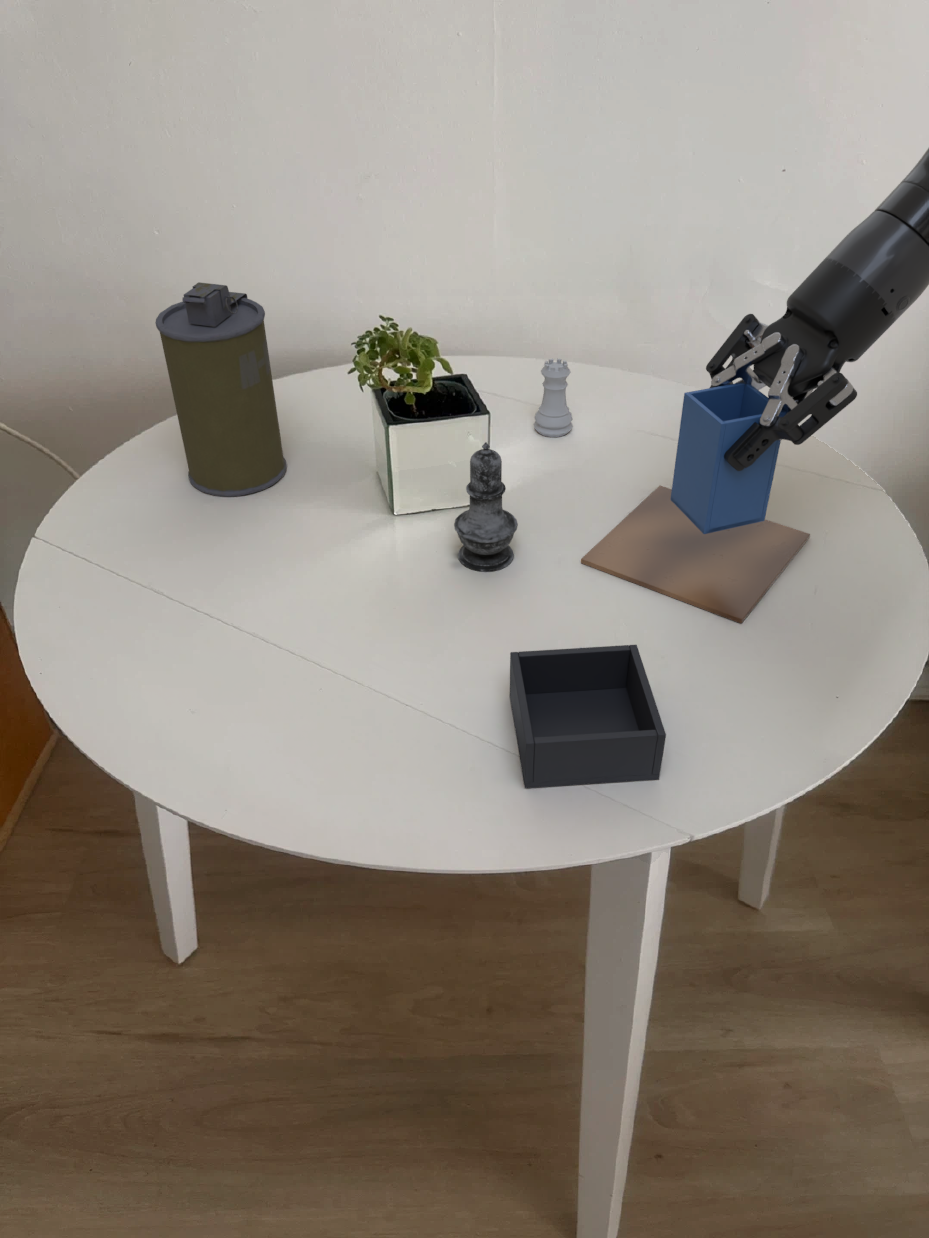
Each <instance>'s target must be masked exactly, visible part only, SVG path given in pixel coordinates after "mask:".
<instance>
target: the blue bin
mask: <svg viewBox="0 0 929 1238" xmlns="http://www.w3.org/2000/svg"><path fill="white" fill-rule="evenodd" d="M768 401H769V397H768V395H765V394H764V393H763V392H761V391H760V390H757V389H756V388H755V387H753V386H752V385H747V384H746V383H745V382H741V383H736V382H735V383H733V384H730V385H724V386H719V387H714V388H710V387H708V388H703V389H698V390H692V391H686V392H684V393H683V401H682V408H681V416H680V422H679V423H680V424H679V432H678V437H677V446H676V447H677V448H676V453H675V454H676V455H675V461H674V462H675V463H674V470H673V478H672V483H671V489H672V491H671V499H670V500H671V501H672V502H673V503H674V504H675V505H676V506H677V507H678V508H679V509H680V510H681V511H682V512H683V513H684V514H685V515H686V516H687V517H688V518H689V519H690V520H691V522H692V523H693V524H694V525H695V526H696V527H697V528H698V529H699V530H700V531H701V532H702V533H703V534H708V533H712V532H717V531H721V530H726V529H730V528H735V527H739V526H744V525H748V524H753V523H757V522H762V521H765V520H766V515H767V510H768V506H769V501H770V496H771V490H772V485H773V481H774V475H775V471H776V466H777V461H778V457H779V452H780V451H779V450H780V446H781V443H782V440H779V441H778V440H776V441H775V442H774V443H773V444H772V445H771V446H770V447H769V448H768V449H767V450H766V451H765V452H764V453H763V454H762V455H760V457H759V458H758V459H756V461H755V462H754V463H753V464H752V465H751V466H749V467H747V468H744V469H743V470H742V471H737V470H736V469H734V468H733V467H732V466H731V465H730V464H729V463H728V462H727V461H726V460H725V459H724V454H725V452H726V451H727V450H728V449H729V448H730V447H731V446H732V445H733V444H734V443H735V442H736V441H737V440H738V439H739V438H740V437H741V436H742V435H743V434H744V433H745V432H746V431H747V430H748V429H749V427H750V426H751V425H752V424H753V423H754V422H756V423H757V424H758V425H759V424H760V418H761V416H762V414H763V412H764V409H765V407H766V405H767V403H768ZM785 414H786V411H783V410H781V412H780V414H779V417H783V416H784V415H785Z"/></svg>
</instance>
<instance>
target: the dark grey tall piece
mask: <svg viewBox="0 0 929 1238" xmlns="http://www.w3.org/2000/svg"><path fill="white" fill-rule="evenodd" d="M490 448H491V447H490V444H489V443H488V442H484V443H483V445H481V449H479V450H477V451H475V452H474V453H473V454H472V455H471V457H470V460H469V480H470V481H469V482H468V483H467V485H466V486H465V491H466V493H467V494H468V495H469V508H468V509H467V510H464V511H463V512H460V514H458V515H457V517H456V518H455V519H454V523H453V526H454V530H455V532H456V534H457V536H458V538H459V540H460V542H461V544H462V546H461V547H460V548H459V550H458V553H457V558H458V561H459V562H460V564H462V566H464V567H465V568H467V569H469V570H472V571H476V572H484V573H487V572H488V573H489V572H495V571H500V570H502V569H505V568H507V567H508V566H509V565H511V563H512V562H513V561H514V558H515V553H514V550H513V549H512V547H511V546H510V544H511V542H512V540H513V538H514V534H515V533H516V531H517V530H518V525H519V523H518V520H517V518H516V517H515V516H514V515H513V514H512V513H511V512H509V511H507V510H505V509H503V496H504V494H505V493H506V489H507V488H506V484H505V483H504V482H503V481H502V479H503V478H502V477H503V475H502V474H503V473H502V471H503V469H502V467H503V461H502V458H501V455H500V454H499V453H498V451H496V450H494V449H490Z"/></svg>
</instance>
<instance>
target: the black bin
mask: <svg viewBox="0 0 929 1238" xmlns="http://www.w3.org/2000/svg"><path fill="white" fill-rule="evenodd" d="M509 655H510V656H509V701H510V707H511V708H510V709H511V713H512V719H513V727H514V731H515V732H514V733H515V738H516V744H517V750H518V758H519V763H520V769H521V775H522V781H523V788H524V789H539V788H551V787H553V788H554V787H555V788H556V787H566V786H567V787H568V786H581V785H583V786H584V785H597V784H598V785H599V784H611V783H612V784H613V783H614V784H615V783H626V782H641V781H643V782H644V781H655V780H660V776H661V769H662V764H663V763H662V762H663V757H664V750H665V743H666V737H667V732H666V730H665V727H664V723H663V721H662V718H661V715H660V712H659V709H658V705H657V702H656V700H655V696H654V693H653V690H652V688H651V684H650V681H649V678H648V675H647V673H646V670H645V666H644V663H643V660H642V657H641V654H640V651H639V647H638V645H637V644H624V645H623V644H622V645H608V646H607V645H605V646H589V647H574V648H573V647H572V648H559V649H557V648H556V649H555V648H554V649H542V650H541V649H540V650H539V649H538V650H524V651H511V652H510V653H509Z"/></svg>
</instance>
